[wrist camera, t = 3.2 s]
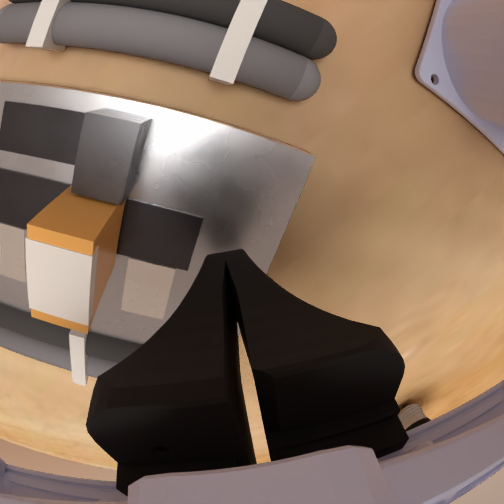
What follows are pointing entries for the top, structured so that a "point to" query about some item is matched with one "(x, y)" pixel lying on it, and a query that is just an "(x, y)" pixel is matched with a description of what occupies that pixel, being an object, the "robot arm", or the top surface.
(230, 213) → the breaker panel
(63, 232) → the lever
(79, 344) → the cord bundle
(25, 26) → the cord bundle
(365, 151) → the top surface
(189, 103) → the top surface
